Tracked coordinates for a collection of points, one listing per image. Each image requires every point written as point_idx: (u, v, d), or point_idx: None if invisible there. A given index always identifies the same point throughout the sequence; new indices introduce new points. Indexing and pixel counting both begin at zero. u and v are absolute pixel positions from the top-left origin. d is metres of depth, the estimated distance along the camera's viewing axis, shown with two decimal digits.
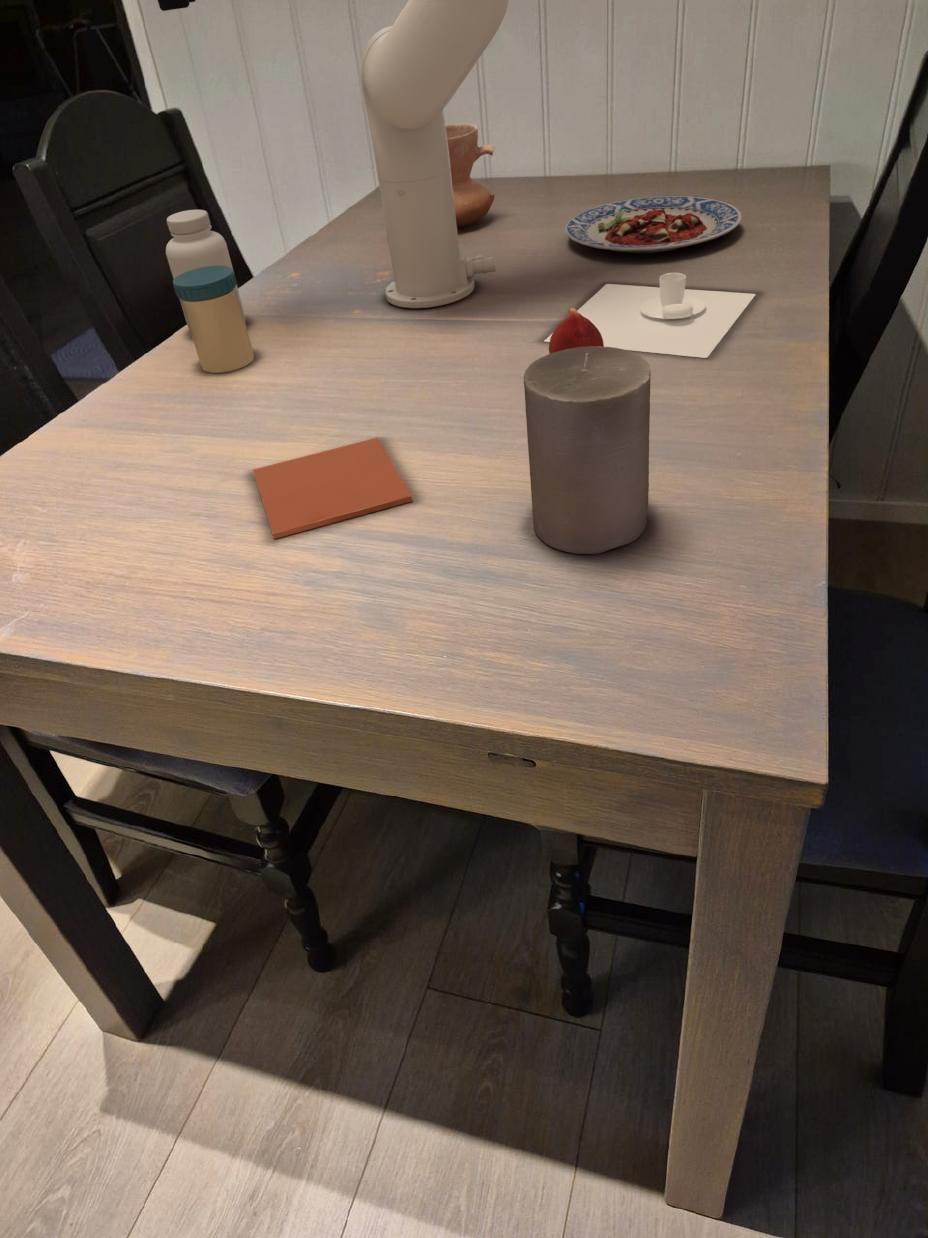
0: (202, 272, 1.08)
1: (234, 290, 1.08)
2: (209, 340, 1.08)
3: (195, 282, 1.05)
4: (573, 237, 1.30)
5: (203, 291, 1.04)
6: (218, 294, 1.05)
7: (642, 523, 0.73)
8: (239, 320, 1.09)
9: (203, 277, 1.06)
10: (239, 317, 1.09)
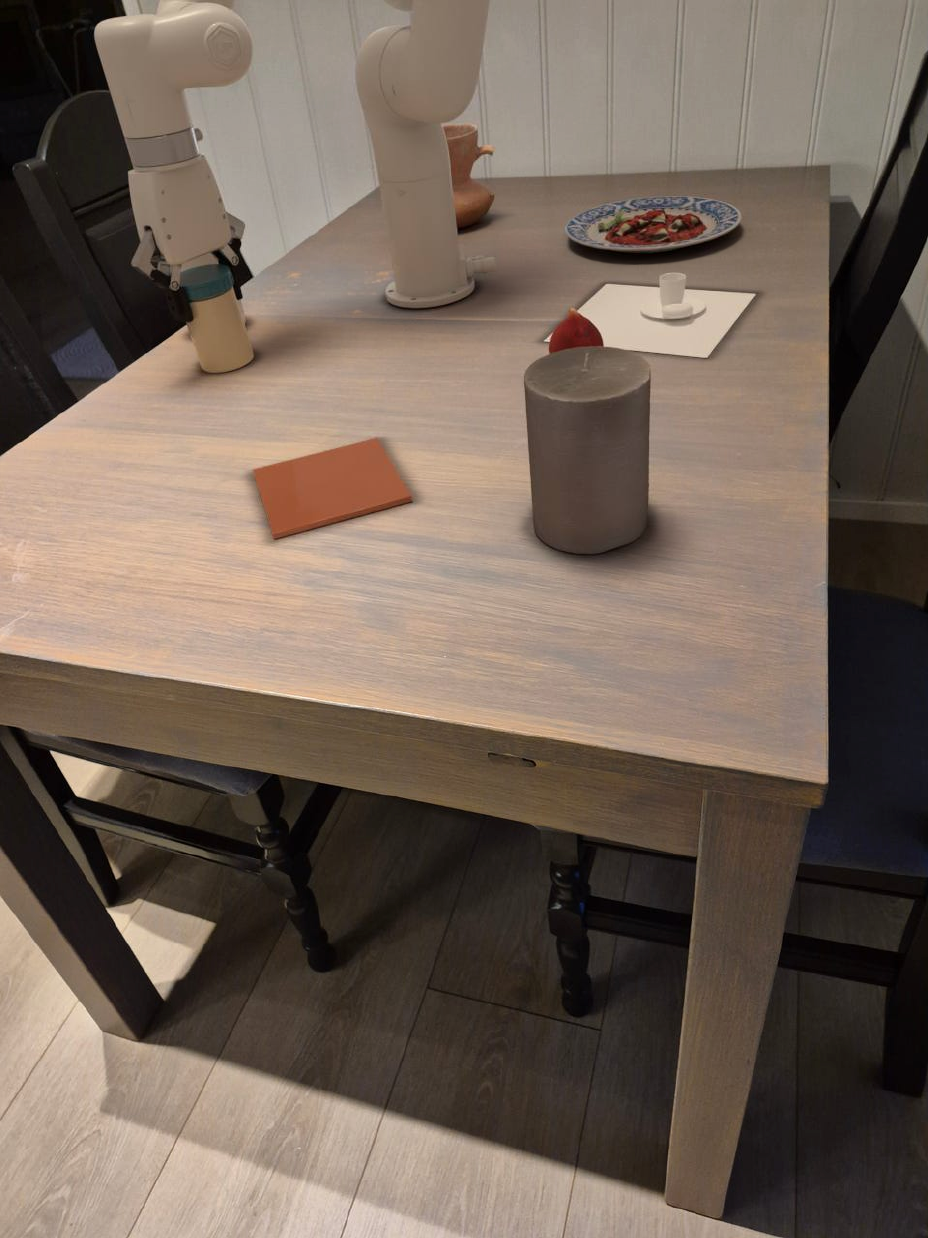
0: (189, 277, 1.06)
1: (232, 289, 1.07)
2: (208, 340, 1.08)
3: (219, 272, 1.06)
4: (573, 237, 1.30)
5: (231, 275, 1.07)
6: None
7: (642, 523, 0.73)
8: (238, 319, 1.09)
9: (206, 273, 1.07)
10: (237, 316, 1.09)
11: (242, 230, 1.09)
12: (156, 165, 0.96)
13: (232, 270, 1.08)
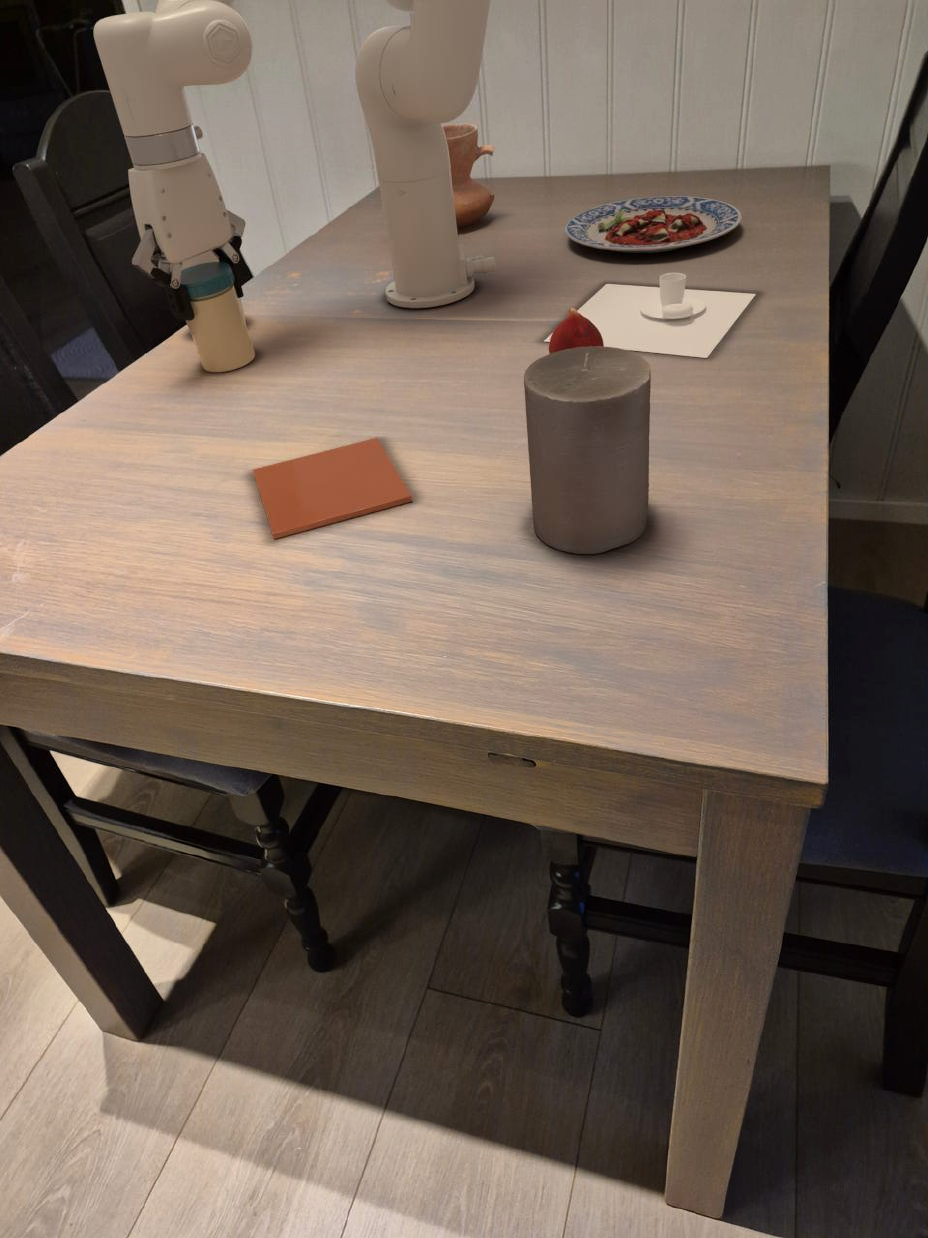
0: (200, 276, 1.05)
1: (233, 289, 1.07)
2: (209, 339, 1.08)
3: (207, 264, 1.08)
4: (573, 237, 1.30)
5: None
6: None
7: (642, 523, 0.73)
8: (239, 318, 1.09)
9: (199, 270, 1.07)
10: (238, 316, 1.09)
11: (242, 227, 1.09)
12: (156, 163, 0.96)
13: (233, 268, 1.08)
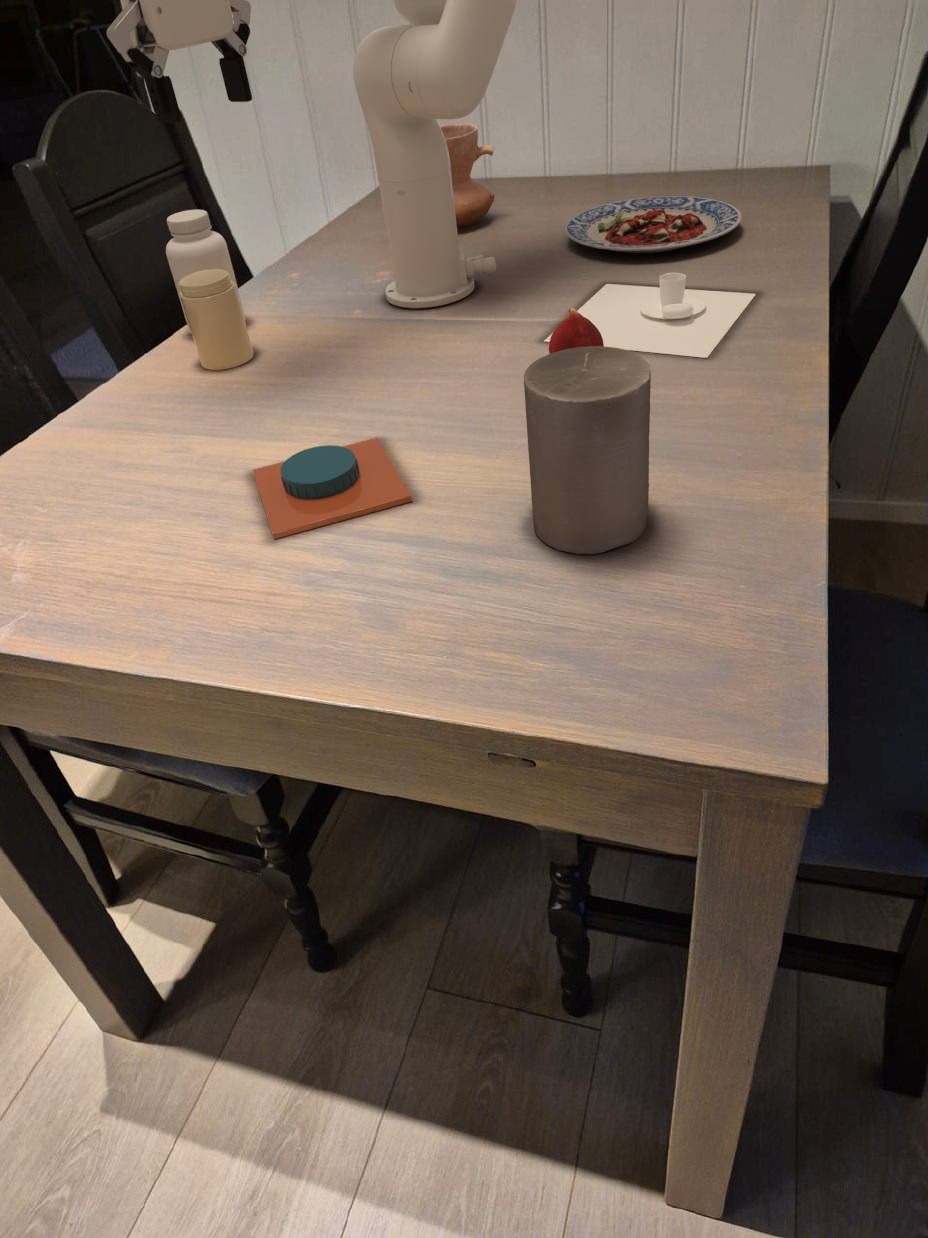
0: (316, 457, 0.85)
1: (234, 284, 1.09)
2: (219, 335, 1.09)
3: (310, 477, 0.82)
4: (573, 237, 1.30)
5: (321, 489, 0.82)
6: (339, 491, 0.83)
7: (642, 523, 0.73)
8: (242, 313, 1.11)
9: (319, 467, 0.84)
10: (241, 310, 1.11)
11: (248, 12, 0.92)
12: None
13: (239, 61, 0.92)
